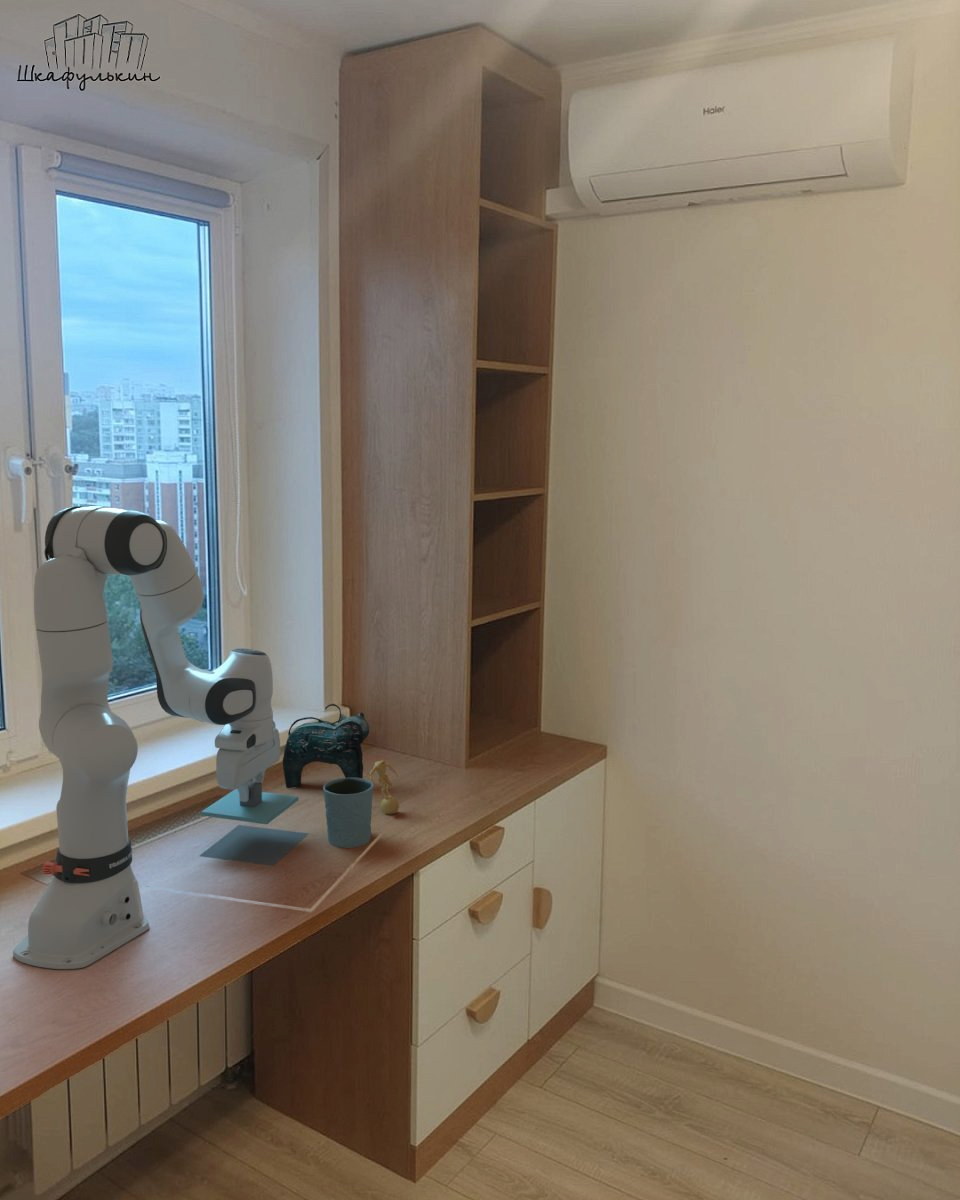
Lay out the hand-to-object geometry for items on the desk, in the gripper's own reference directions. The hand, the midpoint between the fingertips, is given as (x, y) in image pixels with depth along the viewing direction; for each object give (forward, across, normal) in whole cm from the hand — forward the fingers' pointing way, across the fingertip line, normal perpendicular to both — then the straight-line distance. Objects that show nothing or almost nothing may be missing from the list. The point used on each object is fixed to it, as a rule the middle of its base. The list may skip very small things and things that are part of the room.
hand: (250, 796), depth 213 cm
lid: (+2, 0, 0) cm, 2 cm away
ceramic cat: (+10, -36, 0) cm, 37 cm away
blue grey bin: (+11, -9, +18) cm, 22 cm away
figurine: (+10, -25, +20) cm, 33 cm away
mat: (+11, -1, 0) cm, 11 cm away
